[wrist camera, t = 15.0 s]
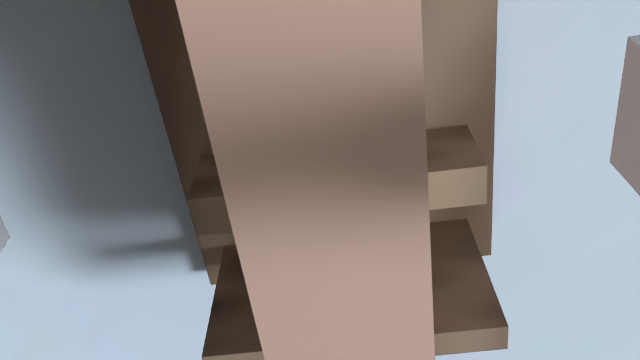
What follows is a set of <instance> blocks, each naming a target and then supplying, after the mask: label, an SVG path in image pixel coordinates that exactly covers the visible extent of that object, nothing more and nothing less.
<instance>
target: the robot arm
mask: <svg viewBox="0 0 640 360" xmlns="http://www.w3.org/2000/svg"><path fill="white" fill-rule="evenodd" d="M610 163H611V164H612V165H613V166H614V167H615V168H616V170H617V171H618V172H619V173H620V174H621V175H622V176H623V177H624V178H625V180H626V181H627V182H628V183H629V184H630V185H631V186H632V187H633V189H634V190H635V191H636V192H637V193H638V194H639V195H640V35H638V36H630V37H628V40H627V47H626V53H625V60H624V67H623V74H622V81H621V88H620V95H619V102H618V109H617V116H616V123H615V129H614V136H613V143H612V150H611V157H610ZM9 238H10V235H9V233H8V231H7V229H6V227H5V225H4V223H3V221H2V219H1V217H0V252H1V250H2V249H3V247H4V246H5V244H6V243H7V241H8V240H9Z"/></svg>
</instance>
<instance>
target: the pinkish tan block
mask: <svg viewBox="0 0 640 360" xmlns="http://www.w3.org/2000/svg"><path fill="white" fill-rule="evenodd" d="M175 2H176V6H177V10H178V14H179V18H180V22H181V26H182V30H183V34H184V38H185V42H186V46H187V50H188V54H189V58H190V62H191V66H192V70H193V74H194V78H195V82H196V86H197V90H198V94H199V98H200V102H201V106H202V110H203V114H204V118H205V122H206V126H207V130H208V134H209V138H210V142H211V146H212V150H213V154H214V158H215V162H216V167H217V171H218V175H219V179H220V183H221V187H222V191H223V195H224V199H225V203H226V207H227V211H228V215H229V219H230V223H231V227H232V231H233V235H234V239H235V243H236V247H237V251H238V255H239V259H240V263H241V267H242V271H243V275H244V279H245V283H246V287H247V291H248V295H249V299H250V303H251V307H252V311H253V315H254V319H255V323H256V327H257V331H258V335H259V339H260V343H261V347H262V351H263V355H264V359H265V360H435V346H434V320H433V294H432V269H431V243H430V218H429V192H428V166H427V141H426V115H425V90H424V64H423V38H422V13H421V0H175Z"/></svg>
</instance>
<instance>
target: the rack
mask: <svg viewBox="0 0 640 360" xmlns="http://www.w3.org/2000/svg"><path fill="white" fill-rule="evenodd" d="M129 3H130V7H131V10H132V14H133V17H134V20H135V24H136V27H137V31H138V34H139V38H140V41H141V45H142V48H143V52H144V55H145V58H146V62H147V65H148V69H149V72H150V76H151V79H152V83H153V86H154V90H155V93H156V96H157V100H158V103H159V107H160V110H161V114H162V117H163V121H164V124H165V128H166V131H167V134H168V138H169V141H170V145H171V148H172V152H173V155H174V159H175V162H176V165H177V169H178V172H179V176H180V179H181V183H182V186H183V190H184V193H185V197H186V200H187V203H188V207H189V210H190V214H191V217H192V221H193V224H194V228H195V231H196V235H197V238H198V241H199V245H200V248H201V252H202V255H203V259H204V262H205V266H206V269H207V273H208V276H209V279H210V283H211V285H213V284H216V289H215V294H214V299H213V304H212V309H211V313H210V318H209V323H208V328H207V333H206V338H205V343H204V348H203V353H202V360H265V359H264V355H263V351H262V347H261V343H260V339H259V335H258V331H257V327H256V323H255V319H254V315H253V311H252V307H251V303H250V299H249V295H248V291H247V287H246V283H245V279H244V275H243V271H242V267H241V263H240V259H239V255H238V251H237V247H236V243H235V239H234V235H233V231H232V227H231V223H230V219H229V215H228V211H227V207H226V203H225V199H224V195H223V191H222V187H221V183H220V179H219V175H218V171H217V167H216V162H215V158H214V154H213V150H212V146H211V142H210V138H209V134H208V130H207V126H206V122H205V118H204V114H203V110H202V106H201V102H200V98H199V94H198V90H197V86H196V82H195V78H194V74H193V70H192V66H191V62H190V58H189V54H188V50H187V46H186V42H185V38H184V34H183V30H182V26H181V22H180V18H179V14H178V10H177V6H176V2H175V0H129ZM497 4H498V0H421V13H422V38H423V64H424V90H425V115H426V141H427V166H428V192H429V218H430V243H431V269H432V294H433V320H434V346H435V356H437V355H448V354H458V353H468V352H478V351H489V350H499V349H507V345H508V324H507V322H506V319H505V317H504V314H503V311H502V309H501V306H500V304H499V301H498V298H497V296H496V293H495V290H494V288H493V285H492V283H491V280H490V277H489V275H488V272H487V270H486V267H485V264H484V262H483V259H482V256H486V255H491V237H492V198H493V159H494V120H495V82H496V43H497Z"/></svg>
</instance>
